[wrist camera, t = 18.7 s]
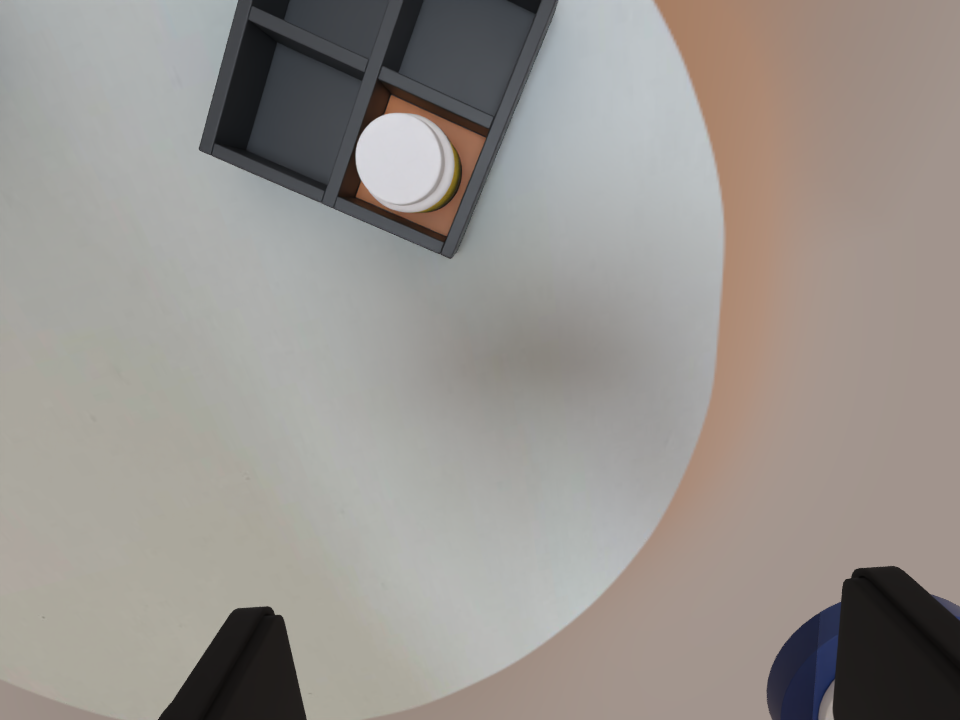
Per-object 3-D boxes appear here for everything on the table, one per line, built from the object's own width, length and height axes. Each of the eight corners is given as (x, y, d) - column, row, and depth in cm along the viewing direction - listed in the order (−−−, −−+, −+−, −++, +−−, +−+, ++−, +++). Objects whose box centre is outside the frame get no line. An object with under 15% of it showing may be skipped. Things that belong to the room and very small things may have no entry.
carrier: (555, 11, 31) (564, -21, 27) (456, 252, 35) (451, 259, 31) (310, -106, 30) (279, -159, 26) (236, 157, 34) (197, 149, 29)
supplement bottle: (471, 142, 33) (463, 121, 24) (451, 221, 34) (436, 226, 26) (393, 119, 32) (358, 89, 24) (375, 199, 34) (337, 197, 25)
